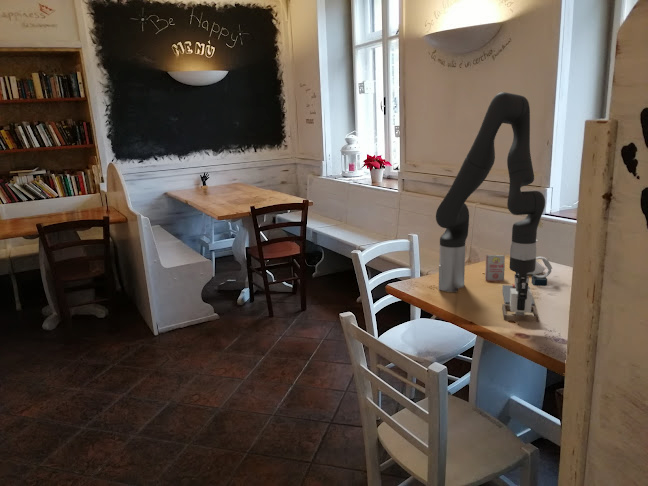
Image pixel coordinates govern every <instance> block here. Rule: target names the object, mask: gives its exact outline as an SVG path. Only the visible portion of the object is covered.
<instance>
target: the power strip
mask: <svg viewBox="0 0 648 486" xmlns="http://www.w3.org/2000/svg"><path fill="white" fill-rule="evenodd" d="M510 288H515V283H512V285H509V284H508V285H504V284H503V285H502V290H501V291H502V296H503V301H504V303H503V304H508V305H510ZM528 289H530V290H531V287H530V286H529V285H528ZM535 305H536V303H535V300H534V297H533V296H532V305H531V306H535ZM535 307H536V306H535Z"/></svg>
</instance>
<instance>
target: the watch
mask: <svg viewBox="0 0 648 486" xmlns="http://www.w3.org/2000/svg"><path fill="white" fill-rule="evenodd" d="M536 260H542V261H543V264H544V266H545V268H546V269H547V272H546V273H545V274H535V273H534V272H531V273H532V274H531V284H532V285H533V286H534V287H538V286H539V287H541V286H542V287H548V278H547V277H549V276H550V274H551V273H552V270H553V267H552V265H551V263H550V261H549V259H547V257H544V256H541V255H539V256H536Z"/></svg>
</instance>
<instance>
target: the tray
mask: <svg viewBox="0 0 648 486" xmlns="http://www.w3.org/2000/svg"><path fill="white" fill-rule="evenodd" d="M501 309H502V316H503V320H505V321H518V322H533V323H534V322H535V323H538V322H539V319H540V318H539V313H538V311H537V308H536V306H531V312H532V313H533V315H525V314H524V315H516V314H507V311H508V310H509V311H510V305H508V304H505V303H502V307H501Z"/></svg>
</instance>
